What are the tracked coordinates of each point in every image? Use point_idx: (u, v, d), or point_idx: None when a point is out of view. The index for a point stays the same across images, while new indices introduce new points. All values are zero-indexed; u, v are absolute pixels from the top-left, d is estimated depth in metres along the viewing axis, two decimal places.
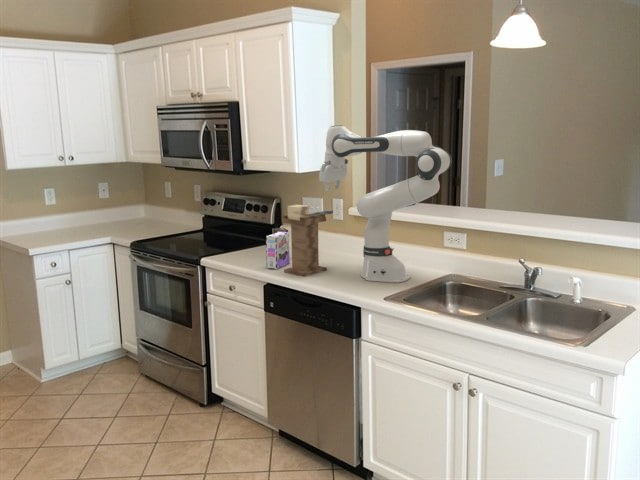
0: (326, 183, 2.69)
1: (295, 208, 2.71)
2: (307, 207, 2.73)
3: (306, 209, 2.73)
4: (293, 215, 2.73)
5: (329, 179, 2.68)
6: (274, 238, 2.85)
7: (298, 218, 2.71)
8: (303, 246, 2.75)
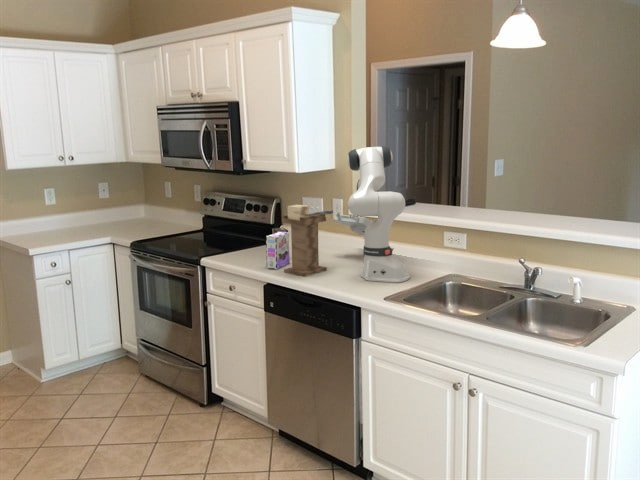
0: None
1: (295, 208, 2.71)
2: (307, 207, 2.73)
3: (306, 209, 2.73)
4: (293, 215, 2.73)
5: None
6: (274, 238, 2.85)
7: (298, 218, 2.71)
8: (303, 246, 2.75)
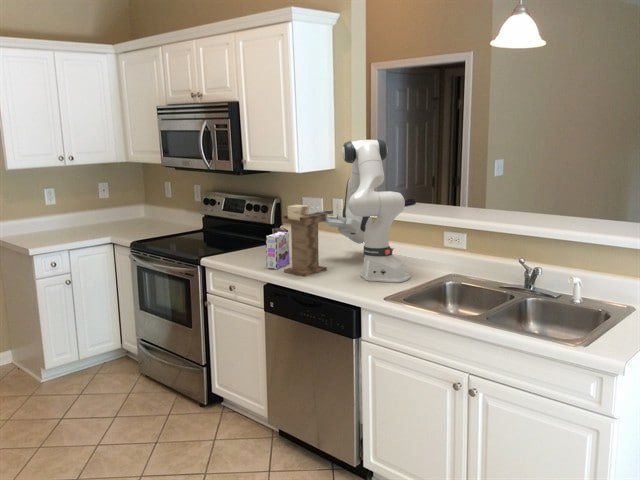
0: None
1: (295, 208, 2.71)
2: (307, 207, 2.73)
3: (306, 209, 2.73)
4: (293, 215, 2.73)
5: None
6: (274, 238, 2.85)
7: (298, 218, 2.71)
8: (303, 246, 2.75)
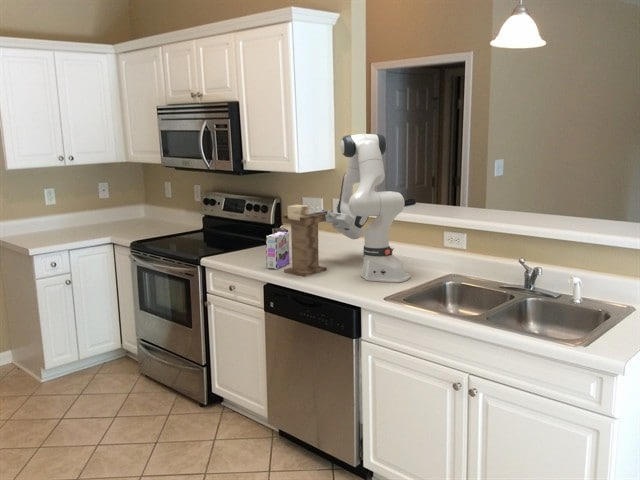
0: None
1: (295, 208, 2.71)
2: (307, 207, 2.73)
3: (306, 209, 2.73)
4: (293, 215, 2.73)
5: None
6: (274, 238, 2.85)
7: (298, 218, 2.71)
8: (303, 246, 2.75)
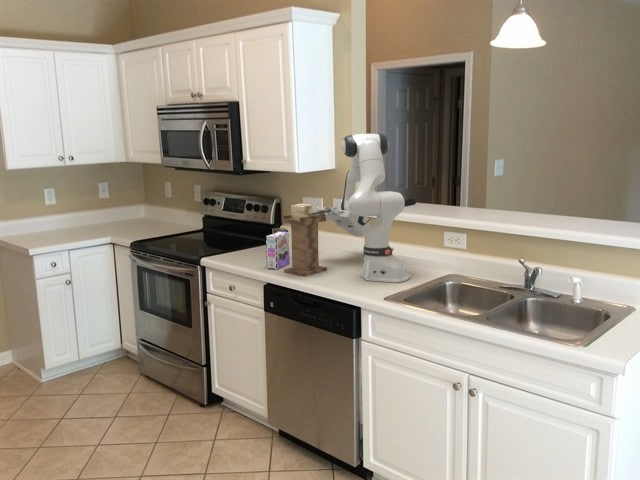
0: None
1: (298, 207, 2.73)
2: (310, 206, 2.75)
3: (309, 208, 2.74)
4: (297, 214, 2.75)
5: None
6: (274, 238, 2.85)
7: None
8: (303, 246, 2.75)
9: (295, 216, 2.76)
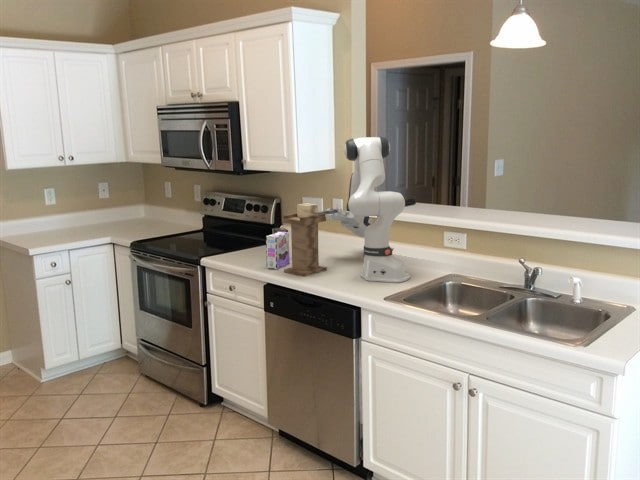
0: None
1: (305, 206, 2.76)
2: (316, 206, 2.78)
3: (315, 207, 2.77)
4: (302, 213, 2.78)
5: None
6: (274, 238, 2.85)
7: None
8: (303, 246, 2.75)
9: (301, 215, 2.79)
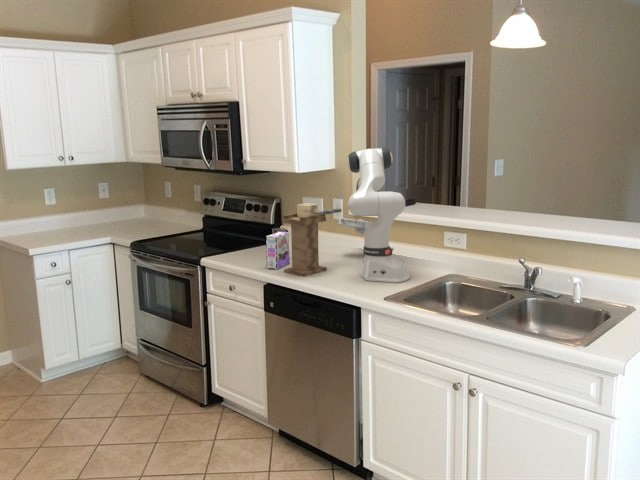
0: None
1: (305, 206, 2.76)
2: (316, 206, 2.78)
3: (315, 207, 2.77)
4: (302, 213, 2.78)
5: (345, 218, 3.10)
6: (274, 238, 2.85)
7: None
8: (303, 246, 2.75)
9: (301, 215, 2.79)
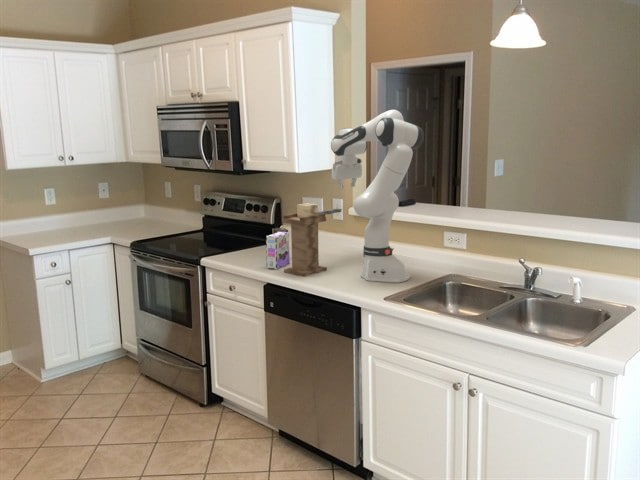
0: (339, 181, 2.98)
1: (305, 206, 2.76)
2: (316, 206, 2.78)
3: (315, 207, 2.77)
4: (302, 213, 2.78)
5: (341, 177, 2.96)
6: (274, 238, 2.85)
7: None
8: (303, 246, 2.75)
9: (301, 215, 2.79)
